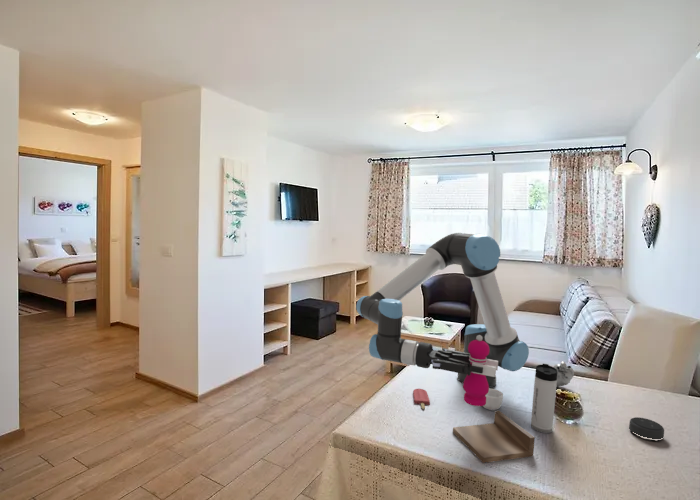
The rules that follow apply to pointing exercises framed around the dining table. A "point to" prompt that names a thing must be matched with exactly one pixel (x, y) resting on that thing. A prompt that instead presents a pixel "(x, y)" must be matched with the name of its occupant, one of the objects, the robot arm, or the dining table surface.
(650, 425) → the smart speaker
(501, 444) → the spice board
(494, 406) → the teacup
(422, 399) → the popsicle
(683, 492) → the dining table surface
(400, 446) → the dining table surface
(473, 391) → the pepper mill
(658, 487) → the dining table surface
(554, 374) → the travel mug
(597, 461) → the dining table surface
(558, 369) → the grey rounded lump
